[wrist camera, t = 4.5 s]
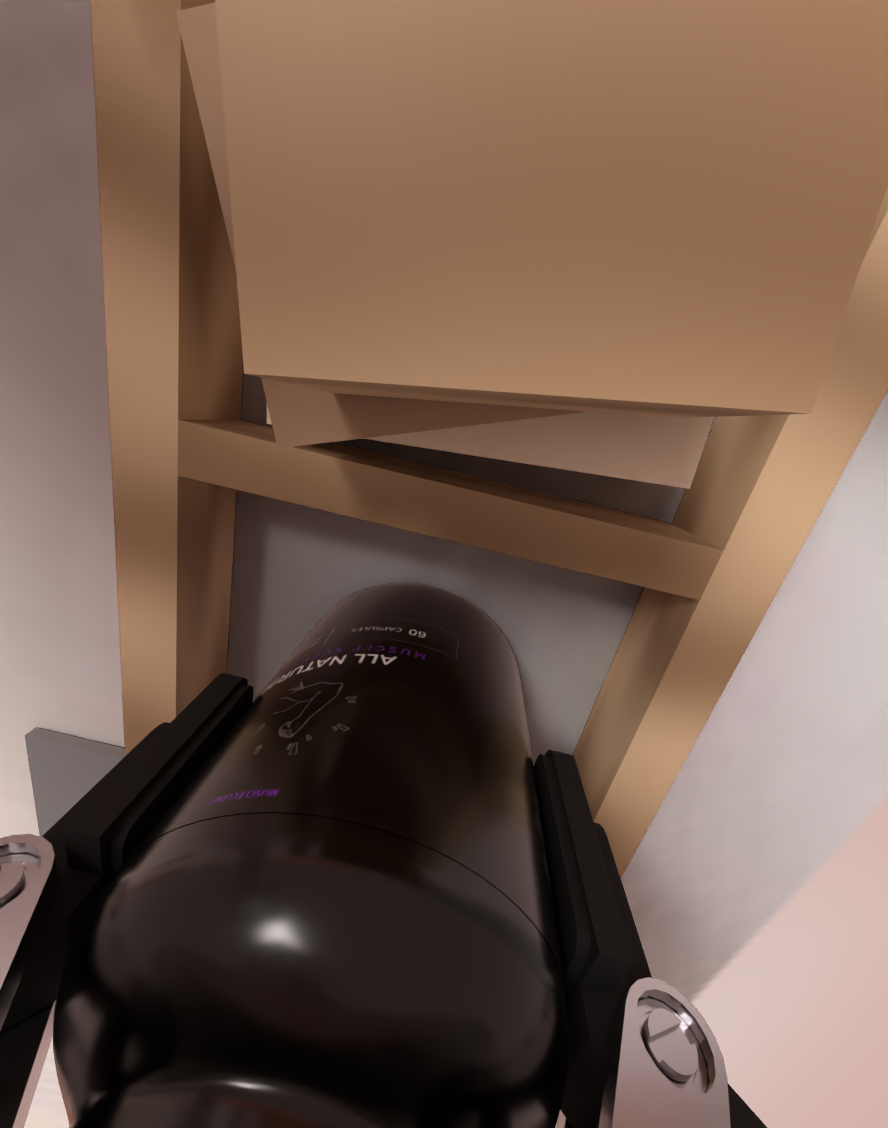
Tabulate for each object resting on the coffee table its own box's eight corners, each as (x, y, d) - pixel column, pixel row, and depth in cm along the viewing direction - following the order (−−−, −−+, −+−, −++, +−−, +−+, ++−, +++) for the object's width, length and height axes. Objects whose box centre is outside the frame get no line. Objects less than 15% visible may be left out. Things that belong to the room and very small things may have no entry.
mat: (35, 727, 15) (25, 735, 15) (299, 789, 15) (295, 798, 15) (59, 901, 19) (51, 911, 18) (276, 951, 19) (272, 962, 18)
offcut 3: (327, 153, 10) (267, 42, 7) (714, 208, 10) (816, 118, 7) (317, 423, 12) (266, 423, 9) (636, 472, 11) (689, 488, 9)
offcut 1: (326, 24, 5) (185, -361, 2) (765, 40, 5) (1069, -358, 2) (331, 393, 6) (244, 373, 4) (676, 417, 6) (810, 414, 4)
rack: (185, -113, 8) (-520, -1413, 2) (950, 79, 8) (2054, -712, 2) (177, 783, 16) (10, 987, 10) (568, 874, 16) (619, 1125, 10)
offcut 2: (272, 144, 7) (175, 12, 5) (693, 62, 7) (816, -139, 4) (329, 441, 9) (277, 448, 6) (673, 400, 8) (754, 392, 6)
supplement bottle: (382, 529, 12) (-1387, 2588, 1) (563, 659, 13) (1196, 2397, 2) (270, 686, 14) (-596, 1809, 3) (433, 788, 15) (301, 1932, 4)
